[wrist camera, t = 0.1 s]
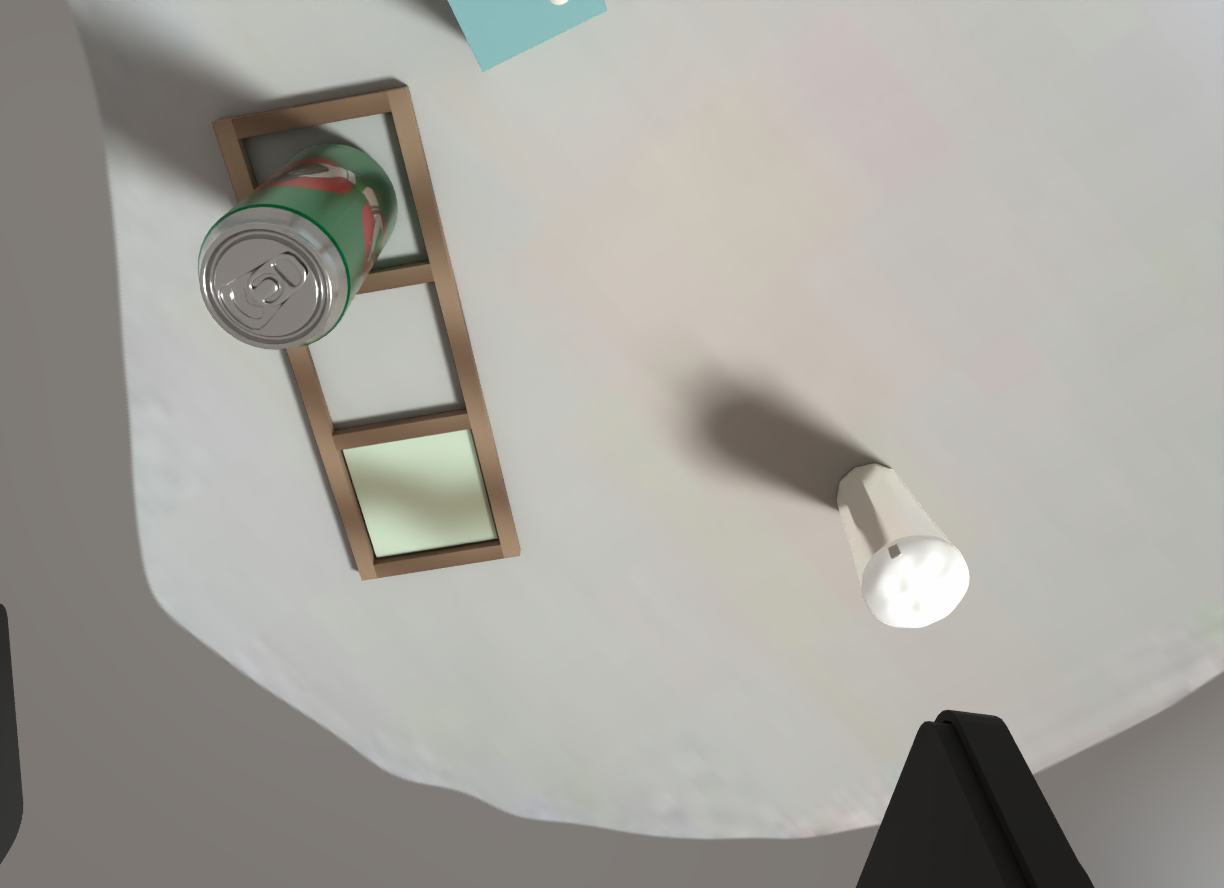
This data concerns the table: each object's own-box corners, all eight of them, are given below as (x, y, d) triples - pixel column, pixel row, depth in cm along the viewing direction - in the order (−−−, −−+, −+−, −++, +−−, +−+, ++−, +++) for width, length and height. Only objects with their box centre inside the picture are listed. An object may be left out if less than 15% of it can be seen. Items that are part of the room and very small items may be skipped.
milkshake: (883, 421, 51) (949, 529, 42) (929, 503, 53) (1000, 622, 44) (799, 466, 52) (845, 581, 43) (847, 545, 54) (901, 670, 45)
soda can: (255, 189, 45) (153, 275, 34) (342, 115, 44) (265, 179, 33) (338, 280, 47) (266, 388, 36) (424, 211, 46) (376, 302, 35)
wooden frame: (216, 120, 44) (212, 122, 43) (408, 85, 43) (405, 87, 43) (364, 573, 54) (362, 580, 53) (520, 549, 53) (519, 555, 53)
